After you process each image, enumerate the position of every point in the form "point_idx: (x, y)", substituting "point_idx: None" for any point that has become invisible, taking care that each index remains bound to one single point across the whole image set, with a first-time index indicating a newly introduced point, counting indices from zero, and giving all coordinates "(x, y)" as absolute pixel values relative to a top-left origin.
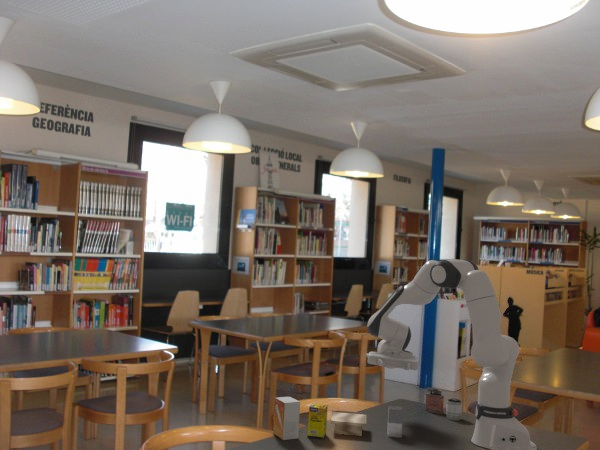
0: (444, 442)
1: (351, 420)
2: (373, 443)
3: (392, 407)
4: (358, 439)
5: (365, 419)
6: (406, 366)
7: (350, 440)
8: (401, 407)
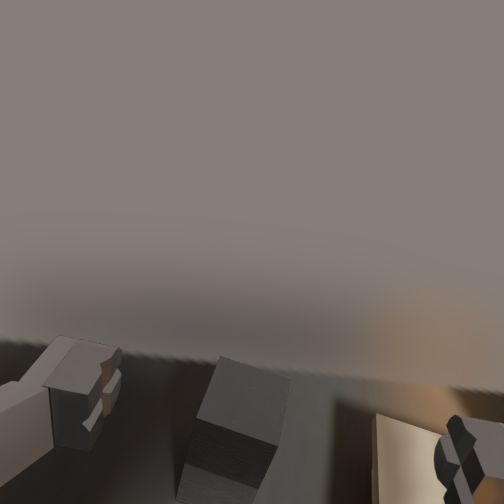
0: None
1: None
2: (329, 383)
3: (262, 407)
4: None
5: (383, 484)
6: (106, 347)
7: (409, 420)
8: (205, 404)
